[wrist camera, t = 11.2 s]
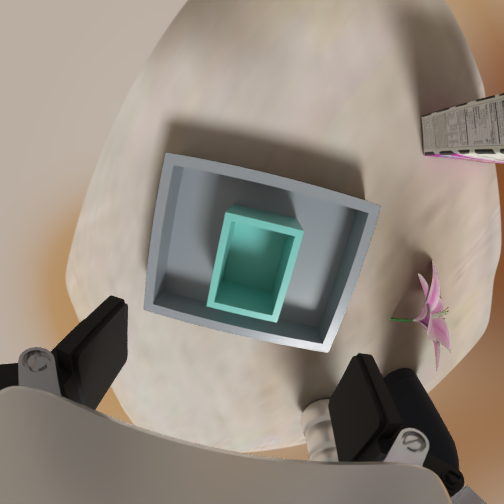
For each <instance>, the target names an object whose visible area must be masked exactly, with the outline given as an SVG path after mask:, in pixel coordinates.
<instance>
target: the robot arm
mask: <svg viewBox="0 0 504 504" xmlns="http://www.w3.org/2000/svg"><path fill="white" fill-rule="evenodd" d="M127 327H128V305H127V304H125V302H124V300H123V299H121V298H118V297H115V296H109V297H108V298H107V299H106V300H105V301H104V302H103V303H102V304H101V305H100V306H99V307H97V308H96V309H95V310H94V311H93V312H92V313H91V314H90V315H89V316H88V317H87V318H86V319H84V320H83V321H81V322H80V323H79V324H78V325H77V326H76V327H75V328H74V329H73V330H72V331H71V332H70V333H69V334H68V335H67V336H66V337H65V338H64V339H63V340H62V341H61V342H60V343H59V344H58V345H57V346H56V347H55V348H54V349H53V350H52V351H51V352H50V351H48V350H47V349H44V348H40V347H34V348H29V349H27V350H25V351H24V352H22V354H21V355H20V357H19V361H18V363H13V364H1V365H0V504H487V503H486V502H484V500H483V499H481V498H480V497H479V496H478V495H477V494H476V493H475V492H474V491H473V490H472V489H471V488H470V487H468V486H466V487H464V477H463V475H462V473H461V472H460V471H459V470H458V469H457V468H455V467H454V466H452V465H450V464H448V463H446V462H445V461H443V460H441V459H439V458H438V457H436V456H434V455H433V454H431V453H429V452H428V450H429V441H428V439H427V437H426V436H425V435H424V434H423V433H422V432H420V431H419V430H417V429H414V428H405V429H403V428H402V424H403V422H402V420H401V418H400V415H399V413H398V411H397V408H396V406H395V404H394V402H393V399H392V397H391V395H390V393H389V390H388V388H387V386H386V384H385V382H384V379H383V377H382V375H381V373H380V371H379V369H378V367H377V364H376V362H375V360H374V358H373V356H372V355H369V354H361V353H359V354H357V356H353V357H352V359H351V361H350V363H349V365H348V367H347V369H346V371H345V373H344V375H343V377H342V378H341V380H340V382H339V384H338V386H337V388H336V390H335V391H334V393H333V395H332V397H331V398H330V400H329V404H328V409H329V414H330V419H331V424H332V429H333V434H334V439H335V445H336V450H337V456H338V461H339V462H332V461H307V460H293V459H283V458H274V457H266V456H258V455H251V454H245V453H239V452H233V451H228V450H223V449H218V448H213V447H209V446H204V445H200V444H196V443H192V442H188V441H184V440H180V439H177V438H173V437H169V436H166V435H163V434H159V433H156V432H153V431H150V430H147V429H144V428H141V427H138V426H135V425H132V424H130V423H127V422H124V421H121V420H119V419H116V418H113V417H111V416H108V415H106V414H103V413H101V412H98V411H96V410H95V409H96V408H97V406H98V405H99V403H100V401H101V400H102V398H103V397H104V395H105V393H106V392H107V390H108V389H109V387H110V386H111V384H112V383H113V381H114V379H115V378H116V376H117V375H118V373H119V372H120V370H121V369H122V367H123V366H124V364H125V362H126V360H127V355H128V350H127Z"/></svg>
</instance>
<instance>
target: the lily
mask: <svg viewBox="0 0 504 504" xmlns="http://www.w3.org/2000/svg"><path fill="white" fill-rule="evenodd" d="M432 265H433V278H432V284H431V288H430V292H429V287H428V284H427V282H426V281H425V279H424V278H423V277H422V276H421V275H420V274H419V273H418V276H419V279H420V282H421V285H422V288H423V291H424V295H425V299H426V300H427V301H426V300H425V304H424V306H423V309H422V310H421V312H420V314H419V316H418V317H417V318H415V319H396V318H391V320H393V321H403V322H419V323H420V324H421V325H422V326H423V327H424V328H425V329H426V330H427V336H428V338H429V339H431V340H433V342H434V347H435V356H436V371H437V368H438V364H439V357H440V344H439V342H440V343H441V344H442V345H443V346H445V347H446V348H447V349H448V350H449V352H450V353H451V343H450V335H449V330H448V327H447V324H446V322H445V320H444V319H445V318H443V314H444V313H446V312H448V311H445V310H446V309H448V308H449V307H447V308H446V309H445V310H444V313H443V303H442V300H441V298H439V297H440V285H439V279H438V274H437V271H436V268H435V265H434V262H433V260H432ZM428 294H429V295H428ZM427 297H428V298H427Z"/></svg>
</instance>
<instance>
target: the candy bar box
mask: <svg viewBox="0 0 504 504" xmlns="http://www.w3.org/2000/svg"><path fill="white" fill-rule="evenodd" d="M421 125H422V133H423V150H424V155H425V156H435V157H445V158H454V159H463V160H471V161H478V162H484V163H504V93H503V94H498V95H495V96H490V97H486V98H482V99H478V100H474V101H471V102H468V103H464V104H461V105H457V106H453V107H450V108H447V109H443V110H440V111H436V112H433V113H430V114H426V115H424V116H421Z"/></svg>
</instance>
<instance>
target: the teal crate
mask: <svg viewBox="0 0 504 504" xmlns="http://www.w3.org/2000/svg"><path fill="white" fill-rule="evenodd" d="M303 234H304V230H303V228H302V227H301V225H300V223H299V221H298V220H297V219H296V218H292V217H289V216H285V215H281V214H277V213H272V212H268V211H264V210H260V209H256V208H252V207H248V206H243V205H239V204H235V203H234V204H233V205H232V206H231V207H230V208H229V209H228V210H227V211H226V212H225V217H224V222H223V226H222V231H221V236H220V240H219V245H218V250H217V255H216V260H215V265H214V270H213V275H212V280H211V285H210V290H209V295H208V301H207V307H211V308H215V309H219V310H223V311H228V312H232V313H236V314H240V315H244V316H249V317H253V318H258V319H262V320H267V321H271V322H276V323H277V321H278V318H279V315H280V311H281V308H282V305H283V302H284V298H285V295H286V292H287V289H288V285H289V282H290V279H291V275H292V272H293V269H294V265H295V262H296V258H297V255H298V251H299V248H300V244H301V241H302V237H303Z"/></svg>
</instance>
